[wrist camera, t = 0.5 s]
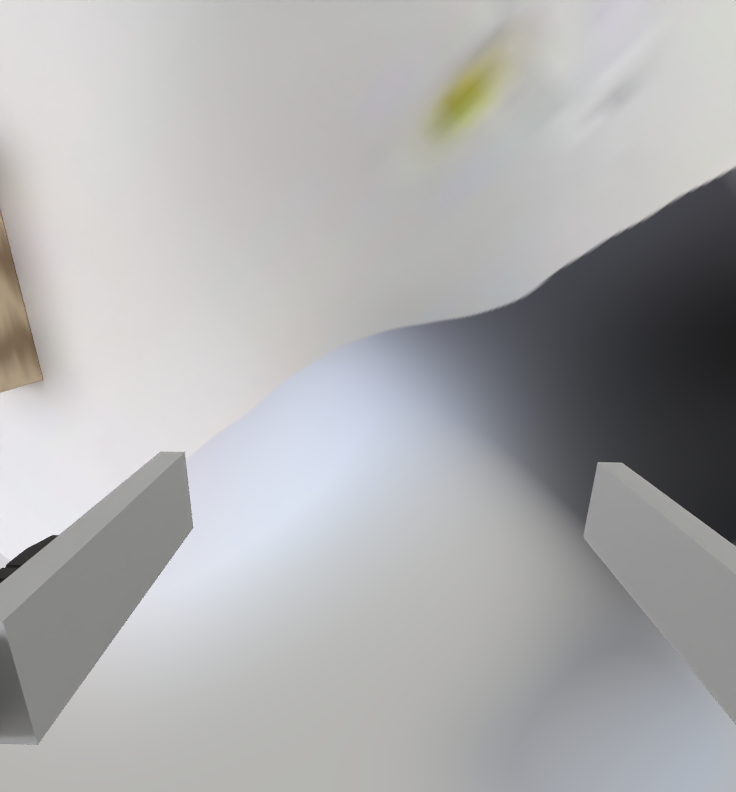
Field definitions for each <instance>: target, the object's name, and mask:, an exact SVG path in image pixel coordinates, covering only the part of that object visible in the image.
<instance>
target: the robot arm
mask: <svg viewBox="0 0 736 792" xmlns="http://www.w3.org/2000/svg"><path fill="white" fill-rule="evenodd" d="M192 529H193V522H192V513H191V504H190V495H189V486H188V477H187V469H186V459H185V452H160V453H158V454H157V455H156V456H155V457H154V458H152V459H151V460H150V461H149V462H148V463H146V464H145V465H144V466H143V467H141V468H140V469H139V470H138V471H137V472H135V473H134V474H133V475H132V476H130V477H129V478H128V479H127V480H126V481H124V482H123V483H122V484H121V485H119V486H118V487H117V488H116V489H115V490H113V491H112V492H111V493H110V494H109V495H107V496H106V497H105V498H104V499H102V500H101V501H100V502H99V503H98V504H96V505H95V506H94V507H93V508H91V509H90V510H89V511H88V512H87V513H85V514H84V515H83V516H82V517H81V518H79V519H78V520H77V521H76V522H74V523H73V524H72V525H71V526H70V527H68V528H67V529H66V530H65V531H63V532H62V533H61V534H60V535H52V536H50V537H48V538H46V539H44V540H42V541H40V542H39V543H37V544H35V545H33V546H31V547H29V548H27V549H26V550H24V551H23V552H22V553H21V554H19V555H18V556H17V557H15V558H14V559H13V560H12V561H10V562H9V563H8V564H7V565H6V567H5V568H1V569H0V744H27V745H38V744H39V742H40V741H41V739H42V738H43V737H44V735H45V734H46V732H47V731H48V730H49V728H50V727H51V725H52V724H53V723H54V721H55V720H56V718H57V717H58V716H59V714H60V713H61V711H62V710H63V709H64V707H65V706H66V705H67V703H68V702H69V700H70V699H71V698H72V696H73V695H74V693H75V692H76V691H77V689H78V687H79V686H80V685H81V684H82V682H83V681H84V679H85V678H86V677H87V675H88V674H89V672H90V671H91V670H92V668H93V667H94V665H95V664H96V663H97V661H98V660H99V658H100V657H101V656H102V654H103V653H104V651H105V650H106V649H107V647H108V646H109V644H110V643H111V642H112V640H113V639H114V638H115V636H116V635H117V633H118V632H119V630H120V629H121V627H122V626H123V625H124V624H125V622H126V621H127V619H128V618H129V616H130V615H131V614H132V612H133V611H134V610H135V608H136V607H137V605H138V604H139V603H140V601H141V600H142V598H143V597H144V596H145V594H146V593H147V591H148V590H149V589H150V587H151V586H152V584H153V583H154V582H155V580H156V579H157V577H158V576H159V575H160V573H161V572H162V571H163V569H164V568H165V566H166V565H167V564H168V562H169V561H170V559H171V558H172V556H173V555H174V554H175V552H176V551H177V550H178V548H179V547H180V545H181V544H182V543H183V541H184V540H185V538H186V537H187V536H188V534H189V533H190V531H191V530H192ZM583 538H584V539H585V540H586V541H587V542H588V544H589V545H590V546H591V548H592V549H593V550H594V551H595V552H596V554H597V555H598V556H599V557H600V559H601V560H602V561H603V562H604V563H605V565H606V566H607V567H608V568H609V570H610V571H611V572H612V573H613V574H614V576H615V577H616V578H617V579H618V581H619V582H620V583H621V584H622V586H623V587H624V588H625V589H626V590H627V592H628V593H629V594H630V595H631V597H632V598H633V599H634V600H635V601H636V603H637V604H638V605H639V606H640V607H641V609H642V610H643V611H644V612H645V614H646V615H647V616H648V617H649V618H650V620H651V621H652V622H653V623H654V625H655V626H656V627H657V628H658V629H659V631H660V632H661V633H662V635H663V636H664V637H665V638H666V639H667V641H668V642H669V643H670V644H671V646H672V647H673V648H674V649H675V650H676V651H677V653H678V654H679V655H680V657H681V658H682V659H683V660H684V661H685V663H686V664H687V665H688V666H689V668H690V669H691V670H692V671H693V672H694V674H695V675H696V676H697V677H698V679H699V680H700V681H701V682H702V683H703V685H704V686H705V687H706V688H707V690H708V691H709V692H710V693H711V694H712V696H713V697H714V698H715V699H716V701H717V702H718V703H719V704H720V706H721V707H722V708H723V709H724V710H725V712H726V713H727V714H728V715H729V716H730V718H731V719H732V720H733V721H734V723H735V724H736V547H735V546H734V545H733V544H731V543H730V542H729V541H727V540H726V539H725V538H723V537H722V536H721V535H719V534H718V533H716V532H715V531H714V530H712V529H711V528H710V527H708V526H707V525H706V524H704V523H703V522H702V521H700V520H699V519H697V518H696V517H695V516H693V515H692V514H691V513H689V512H688V511H687V510H685V509H684V508H683V507H681V506H680V505H679V504H677V503H676V502H674V501H673V500H672V499H670V498H669V497H668V496H666V495H665V494H664V493H662V492H661V491H659V490H658V489H657V488H656V487H654V486H653V485H651V484H650V483H649V482H647V481H646V480H645V479H643V478H642V477H640V476H639V475H638V474H636V473H635V472H634V471H632V470H631V469H630V468H628V467H627V466H625V465H624V464H623V463H608V462H598V464H597V469H596V474H595V479H594V484H593V490H592V495H591V500H590V506H589V510H588V515H587V521H586V525H585V530H584V535H583Z"/></svg>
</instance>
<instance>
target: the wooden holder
mask: <svg viewBox="0 0 736 792" xmlns="http://www.w3.org/2000/svg"><path fill="white" fill-rule="evenodd" d="M40 380H43V378H42V374H41V370H40V366H39V362H38V358H37V354H36V350H35V346H34V342H33V338H32V334H31V331H30V327H29V323H28V319H27V315H26V311H25V307H24V303H23V299H22V295H21V291H20V287H19V283H18V279H17V275H16V271H15V267H14V263H13V259H12V255H11V252H10V248H9V244H8V240H7V236H6V232H5V228H4V224H3V220H2V216H1V212H0V392H4V391H7V390H10V389H14V388H17V387H20V386H24V385H27V384H30V383H34V382H37V381H40Z"/></svg>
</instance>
